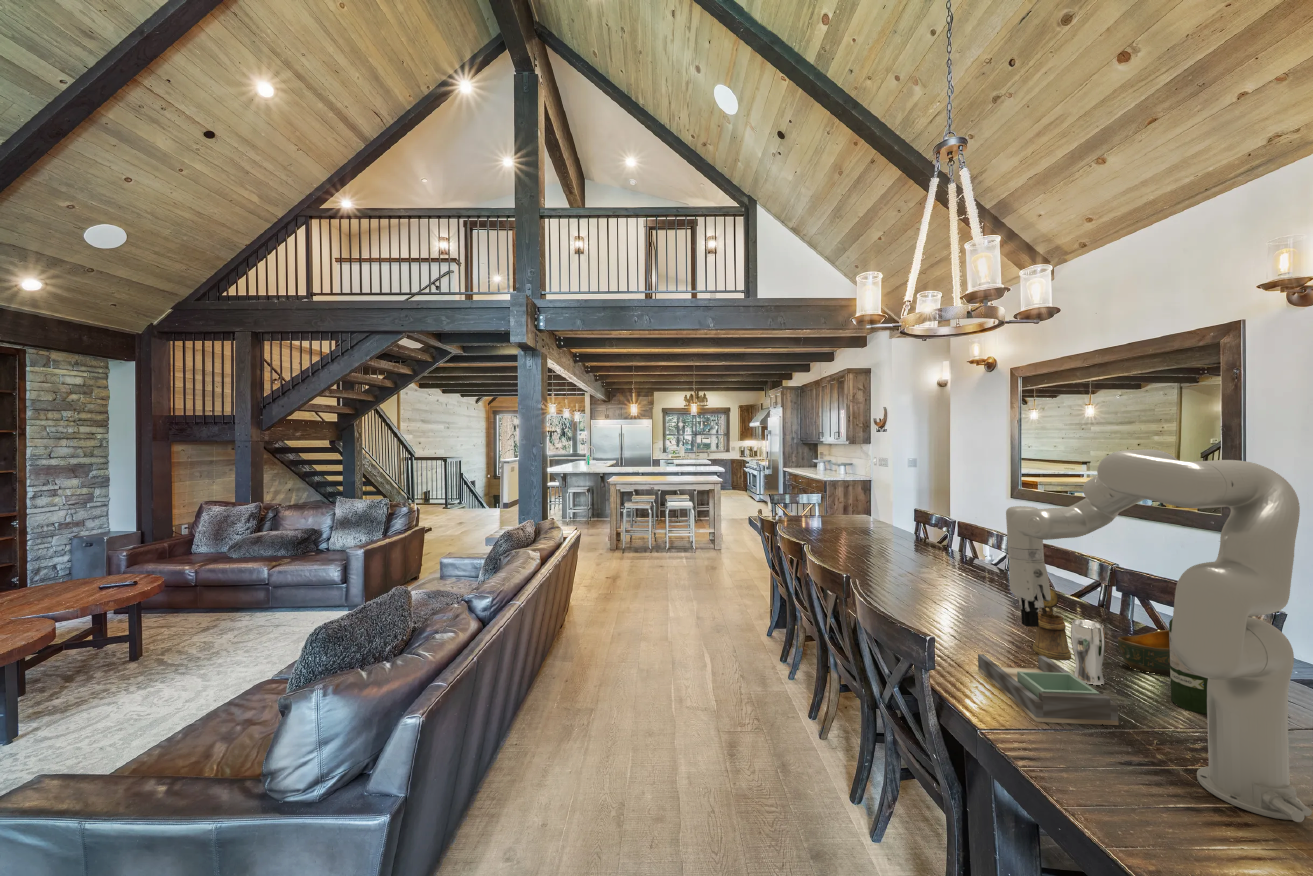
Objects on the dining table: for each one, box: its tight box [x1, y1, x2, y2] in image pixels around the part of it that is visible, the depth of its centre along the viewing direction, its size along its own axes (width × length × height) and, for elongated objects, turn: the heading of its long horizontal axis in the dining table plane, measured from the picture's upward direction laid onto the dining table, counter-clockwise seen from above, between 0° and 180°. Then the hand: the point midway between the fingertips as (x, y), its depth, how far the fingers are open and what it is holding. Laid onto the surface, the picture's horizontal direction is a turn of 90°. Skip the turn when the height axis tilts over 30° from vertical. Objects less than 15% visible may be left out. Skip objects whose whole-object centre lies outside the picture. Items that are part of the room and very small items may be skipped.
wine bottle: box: [1168, 617, 1208, 715], centre depth 121 cm, size 8×8×30 cm
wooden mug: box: [1032, 587, 1072, 661], centre depth 153 cm, size 9×14×18 cm, turn 151°
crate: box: [1017, 671, 1101, 699], centre depth 122 cm, size 10×12×5 cm
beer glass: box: [1070, 618, 1106, 686], centre depth 135 cm, size 7×7×15 cm
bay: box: [977, 653, 1119, 726], centre depth 128 cm, size 26×17×6 cm, turn 173°
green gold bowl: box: [1117, 629, 1170, 676], centre depth 140 cm, size 13×20×10 cm, turn 59°
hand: (1030, 625), depth 132 cm, fingers closed
